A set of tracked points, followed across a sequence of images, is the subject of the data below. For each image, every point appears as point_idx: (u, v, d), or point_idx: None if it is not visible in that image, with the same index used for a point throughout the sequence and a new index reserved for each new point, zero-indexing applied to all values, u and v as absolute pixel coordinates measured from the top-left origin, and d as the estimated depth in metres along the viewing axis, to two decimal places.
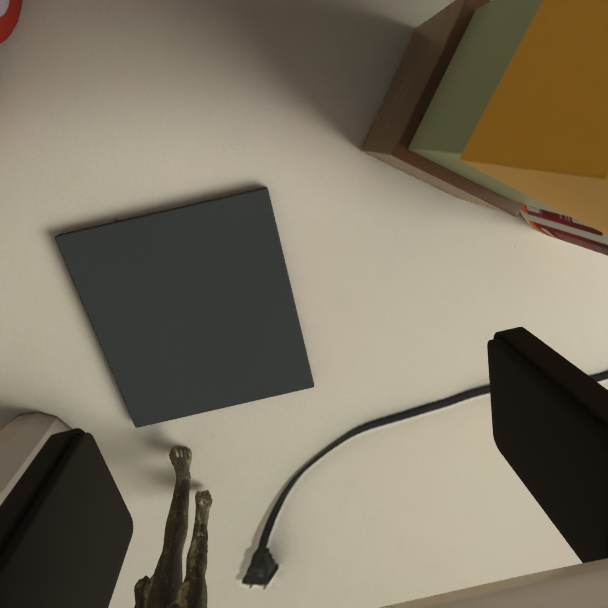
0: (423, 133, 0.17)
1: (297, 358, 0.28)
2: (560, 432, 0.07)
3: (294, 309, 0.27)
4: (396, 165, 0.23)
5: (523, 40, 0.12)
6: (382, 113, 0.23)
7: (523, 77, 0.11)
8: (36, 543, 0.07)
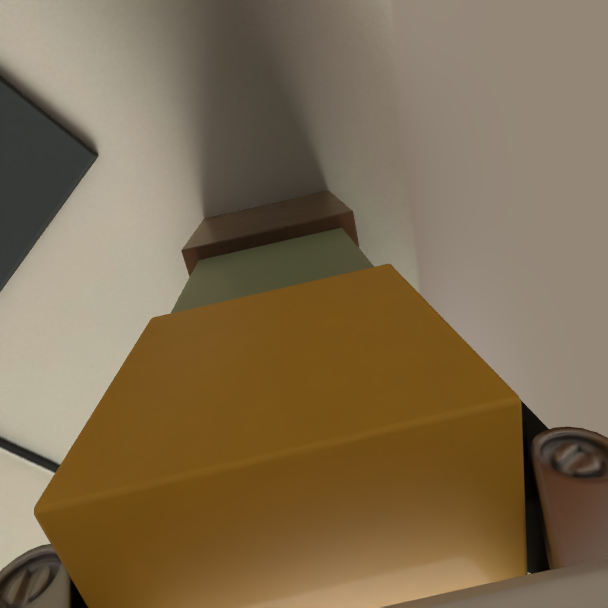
0: (212, 263, 0.16)
1: None
2: None
3: (9, 271, 0.22)
4: None
5: (285, 288, 0.11)
6: (241, 214, 0.21)
7: (235, 317, 0.10)
8: None
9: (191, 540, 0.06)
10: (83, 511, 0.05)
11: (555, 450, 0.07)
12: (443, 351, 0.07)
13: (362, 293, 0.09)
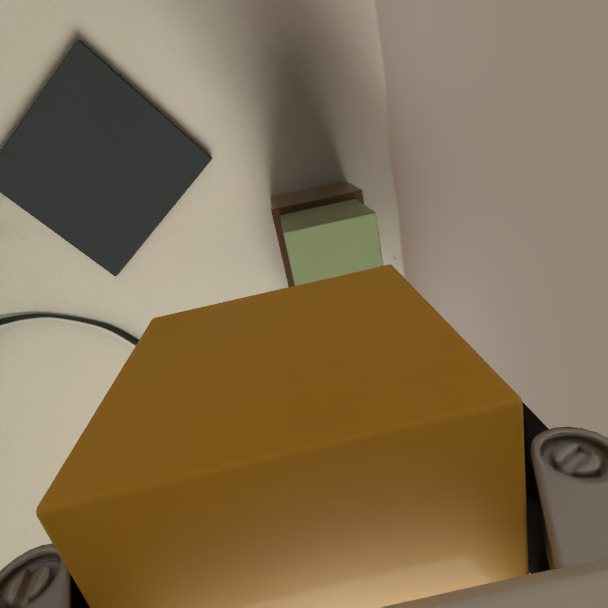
0: (289, 215, 0.30)
1: (125, 251, 0.37)
2: None
3: (154, 226, 0.37)
4: None
5: (287, 288, 0.11)
6: (294, 194, 0.36)
7: (236, 317, 0.10)
8: None
9: (192, 541, 0.06)
10: (85, 512, 0.05)
11: (555, 450, 0.07)
12: (444, 352, 0.07)
13: (364, 294, 0.09)
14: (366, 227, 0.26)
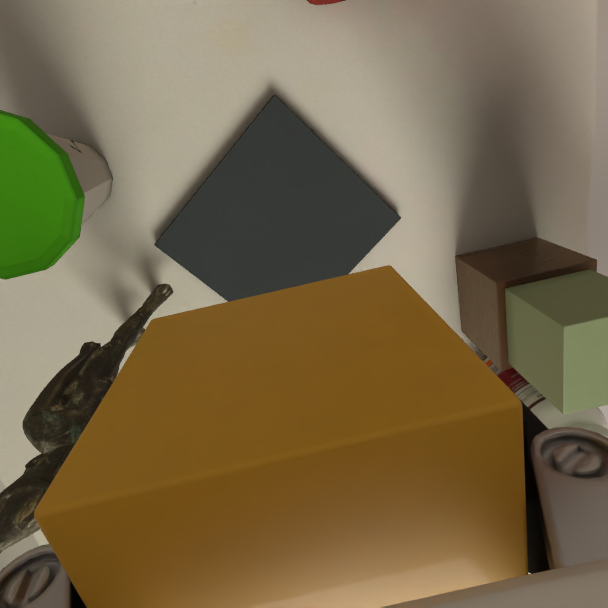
0: (523, 291, 0.27)
1: None
2: None
3: None
4: (468, 285, 0.32)
5: (286, 290, 0.11)
6: (488, 254, 0.33)
7: (235, 318, 0.10)
8: None
9: (191, 544, 0.06)
10: (83, 514, 0.05)
11: (555, 450, 0.07)
12: (444, 353, 0.07)
13: (362, 295, 0.09)
14: None
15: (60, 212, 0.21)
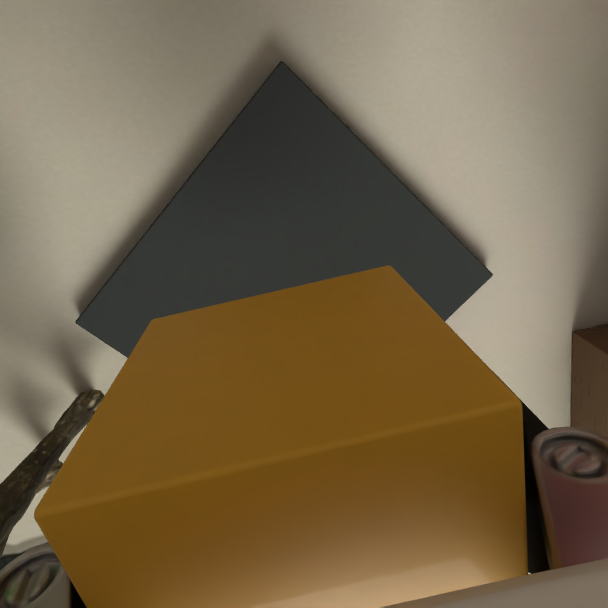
0: None
1: None
2: None
3: None
4: (603, 384, 0.19)
5: (286, 290, 0.11)
6: None
7: (235, 318, 0.10)
8: None
9: (191, 544, 0.06)
10: (83, 514, 0.05)
11: (555, 450, 0.07)
12: (444, 353, 0.07)
13: (363, 295, 0.09)
14: None
15: None
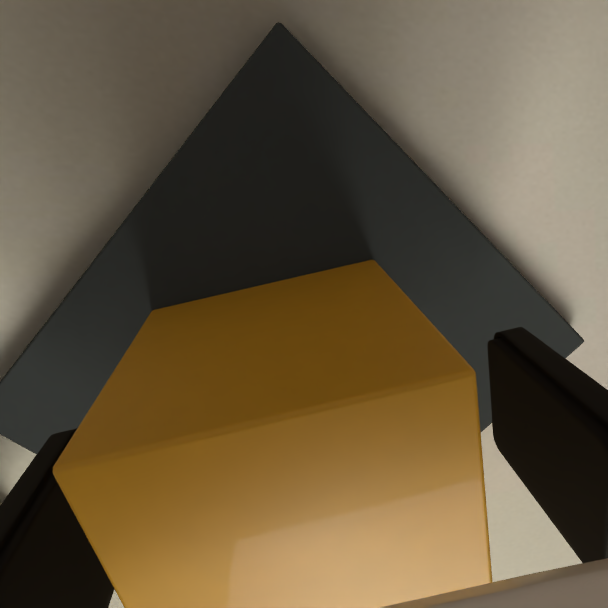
0: None
1: None
2: (560, 432, 0.07)
3: None
4: None
5: (277, 282, 0.12)
6: None
7: (229, 308, 0.10)
8: (36, 543, 0.07)
9: (189, 498, 0.06)
10: (95, 470, 0.06)
11: None
12: (413, 334, 0.07)
13: (346, 286, 0.10)
14: None
15: None
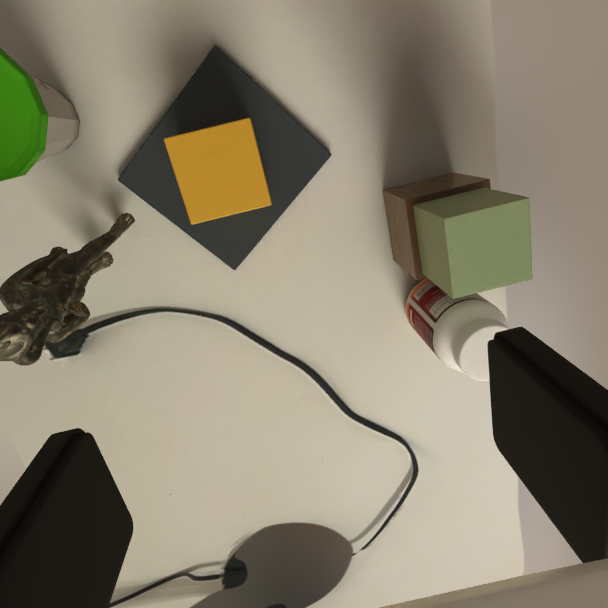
0: (426, 204, 0.32)
1: (245, 246, 0.39)
2: (560, 432, 0.07)
3: (274, 221, 0.38)
4: (392, 212, 0.37)
5: None
6: (409, 186, 0.38)
7: None
8: (36, 543, 0.07)
9: (191, 147, 0.30)
10: (172, 139, 0.30)
11: None
12: None
13: None
14: (520, 212, 0.28)
15: (28, 126, 0.26)
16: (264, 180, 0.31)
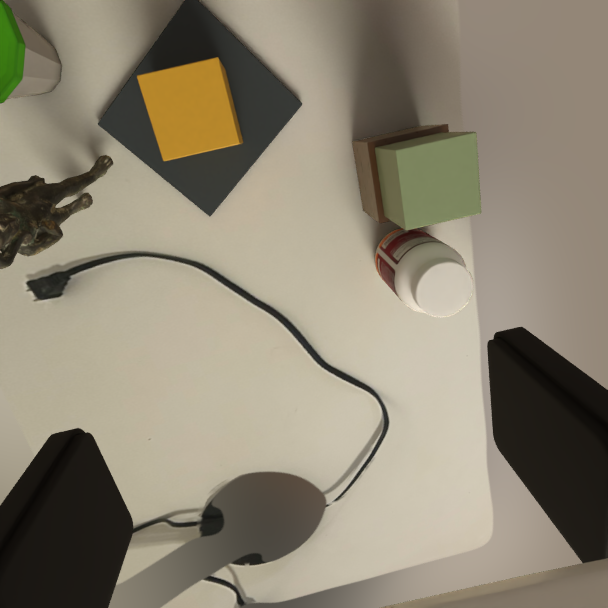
0: (386, 146, 0.34)
1: (220, 192, 0.41)
2: (560, 432, 0.07)
3: (247, 168, 0.40)
4: (359, 161, 0.39)
5: None
6: (376, 136, 0.40)
7: None
8: (36, 543, 0.07)
9: (163, 85, 0.32)
10: (145, 76, 0.32)
11: None
12: None
13: None
14: (468, 146, 0.30)
15: (5, 53, 0.28)
16: (232, 119, 0.33)
